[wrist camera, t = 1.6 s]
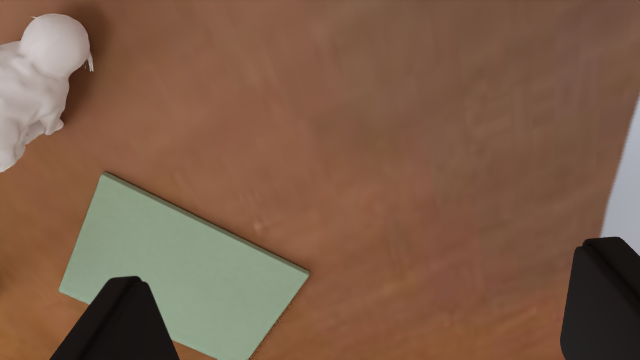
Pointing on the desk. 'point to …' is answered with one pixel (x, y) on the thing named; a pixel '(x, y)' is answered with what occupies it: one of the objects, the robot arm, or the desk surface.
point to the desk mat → (182, 270)
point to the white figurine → (37, 81)
